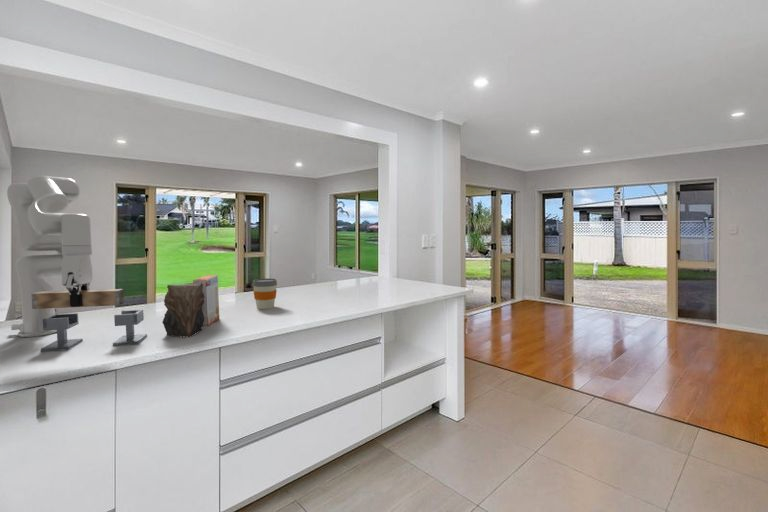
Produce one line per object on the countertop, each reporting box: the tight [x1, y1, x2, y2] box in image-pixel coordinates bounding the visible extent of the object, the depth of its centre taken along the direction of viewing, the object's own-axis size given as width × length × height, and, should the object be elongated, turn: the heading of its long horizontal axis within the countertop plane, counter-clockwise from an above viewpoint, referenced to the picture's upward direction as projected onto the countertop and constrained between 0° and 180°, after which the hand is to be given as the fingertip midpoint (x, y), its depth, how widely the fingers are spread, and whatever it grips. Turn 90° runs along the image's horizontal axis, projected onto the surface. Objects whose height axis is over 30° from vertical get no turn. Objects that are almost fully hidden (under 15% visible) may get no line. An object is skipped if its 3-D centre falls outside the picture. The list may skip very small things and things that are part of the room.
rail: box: [31, 288, 125, 309], centre depth 122 cm, size 24×4×5 cm, turn 107°
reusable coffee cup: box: [252, 278, 278, 310], centre depth 197 cm, size 13×13×15 cm
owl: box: [162, 282, 204, 338], centre depth 149 cm, size 13×13×20 cm
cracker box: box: [192, 274, 220, 327], centre depth 164 cm, size 14×6×21 cm, turn 5°
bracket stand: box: [40, 309, 148, 353], centre depth 134 cm, size 29×10×11 cm, turn 108°
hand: (80, 304), depth 122 cm, fingers closed on rail, 4 cm apart
